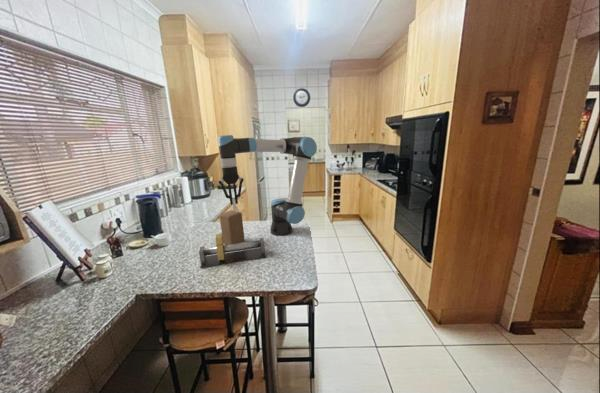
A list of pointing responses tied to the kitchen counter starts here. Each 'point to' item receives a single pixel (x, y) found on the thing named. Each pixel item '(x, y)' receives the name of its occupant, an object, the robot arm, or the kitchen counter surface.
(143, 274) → the kitchen counter surface
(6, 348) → the kitchen counter surface
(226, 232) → the wooden block
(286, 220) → the robot arm
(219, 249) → the collar
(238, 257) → the pipe rig
